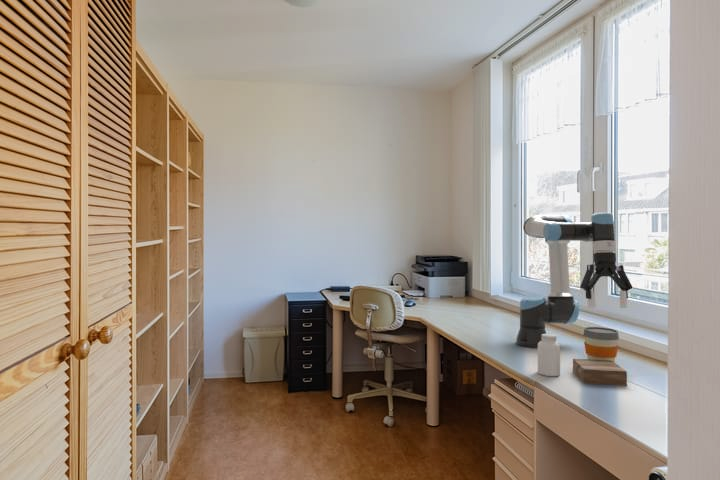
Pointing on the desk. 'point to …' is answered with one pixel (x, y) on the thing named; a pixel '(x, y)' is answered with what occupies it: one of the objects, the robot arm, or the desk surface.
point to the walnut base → (599, 372)
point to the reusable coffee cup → (601, 343)
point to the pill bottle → (548, 356)
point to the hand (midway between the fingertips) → (607, 307)
